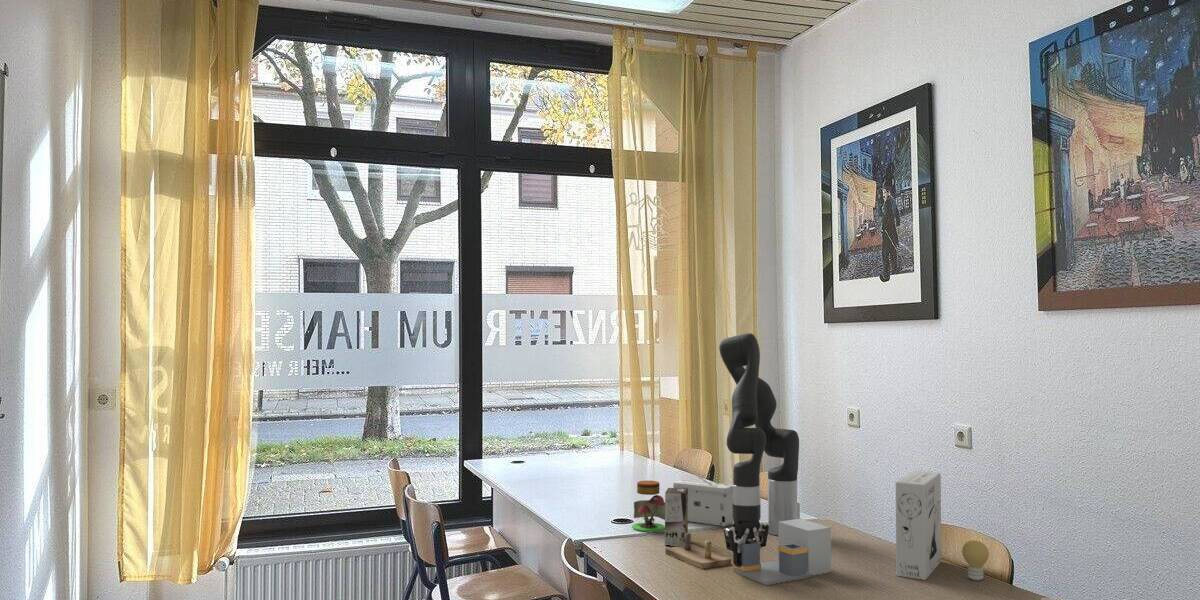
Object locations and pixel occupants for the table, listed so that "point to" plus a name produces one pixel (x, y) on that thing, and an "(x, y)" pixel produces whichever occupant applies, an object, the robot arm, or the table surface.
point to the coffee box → (676, 516)
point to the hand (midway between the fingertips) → (746, 564)
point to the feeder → (801, 534)
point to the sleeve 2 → (792, 559)
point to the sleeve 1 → (749, 556)
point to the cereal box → (918, 524)
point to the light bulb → (975, 558)
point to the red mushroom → (649, 507)
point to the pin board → (698, 554)
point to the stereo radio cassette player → (708, 501)
